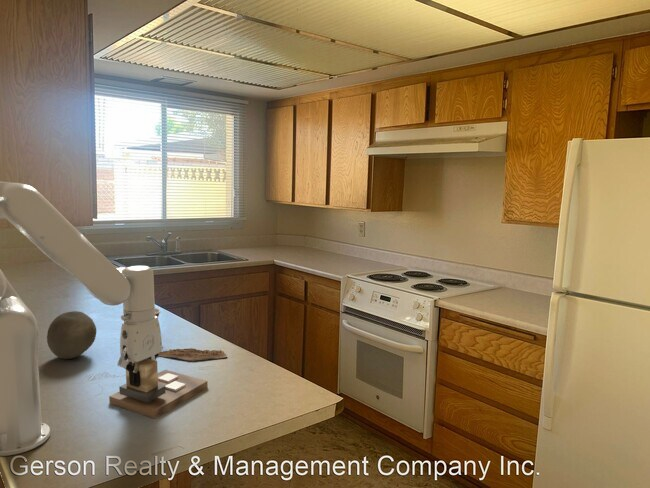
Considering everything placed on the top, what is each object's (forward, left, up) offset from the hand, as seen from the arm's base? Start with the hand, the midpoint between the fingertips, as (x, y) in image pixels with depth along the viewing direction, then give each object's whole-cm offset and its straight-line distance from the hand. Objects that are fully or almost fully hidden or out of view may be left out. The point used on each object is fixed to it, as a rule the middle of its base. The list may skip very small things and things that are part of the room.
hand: (142, 381), depth 126 cm
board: (+6, 0, -6) cm, 9 cm away
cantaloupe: (+12, +44, -7) cm, 46 cm away
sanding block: (0, 0, -3) cm, 3 cm away
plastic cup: (+34, +35, -7) cm, 50 cm away
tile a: (+9, -3, -4) cm, 10 cm away
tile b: (+12, +3, -4) cm, 13 cm away
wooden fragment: (+32, +13, -7) cm, 36 cm away
